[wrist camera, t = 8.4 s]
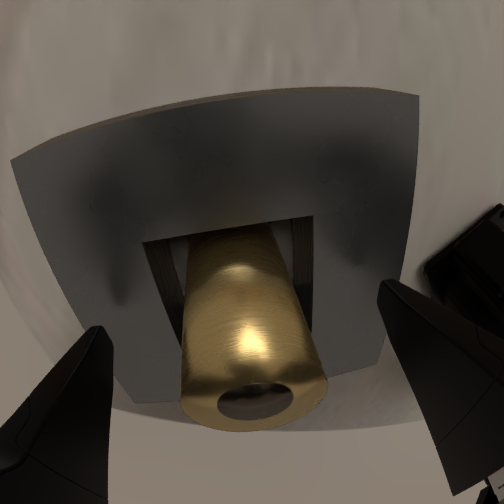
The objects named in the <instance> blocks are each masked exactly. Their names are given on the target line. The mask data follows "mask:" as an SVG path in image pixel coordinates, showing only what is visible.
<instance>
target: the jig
mask: <svg viewBox="0 0 504 504" xmlns="http://www.w3.org/2000/svg"><path fill="white" fill-rule="evenodd" d="M418 136H419V95H414V94H409V93H404V92H398V91H392V90H385V89H379V88H370V87H304V88H285V89H271V90H260V91H250V92H241V93H233V94H226V95H218V96H212V97H205V98H199V99H194V100H188V101H183V102H178V103H173V104H168V105H163V106H159V107H154V108H150V109H146V110H142V111H138V112H134V113H130V114H126V115H122V116H119V117H115V118H112V119H108V120H105V121H101V122H98V123H95V124H92V125H89V126H86V127H83V128H80V129H77V130H74V131H71V132H68V133H65V134H62V135H60V136H57V137H54V138H52V139H50V140H48V141H46V142H44V143H42V144H40V145H38V146H36V147H34V148H32V149H30V150H28V151H26V152H25V153H23V154H21V155H19V156H17V157H16V158H14V159H12V160H10V161H11V165H12V168H13V172H14V175H15V178H16V181H17V185H18V188H19V191H20V194H21V196H22V199H23V202H24V205H25V208H26V210H27V213H28V216H29V218H30V221H31V223H32V226H33V228H34V231H35V233H36V236H37V238H38V240H39V243H40V245H41V247H42V250H43V252H44V254H45V256H46V258H47V261H48V263H49V265H50V267H51V269H52V271H53V273H54V275H55V277H56V279H57V281H58V283H59V285H60V287H61V289H62V291H63V293H64V295H65V297H66V298H67V300H68V302H69V304H70V306H71V308H72V309H73V311H74V313H75V315H76V316H77V318H78V320H79V322H80V323H81V325H82V327H83V328H84V330H85V332H86V331H87V330H88V329H89V328H90V327H91V326H98V325H101V326H103V327H104V328H105V330H106V332H107V333H108V335H109V337H110V339H111V340H112V342H113V346H114V364H113V374H114V375H115V377H116V378H117V380H118V381H119V382H120V384H121V385H122V387H123V388H124V389H125V391H126V392H127V393H128V394H129V396H130V397H131V398H132V400H133V401H134V402H135V403H152V402H170V401H180V382H181V353H182V331H183V314H184V296H183V293H182V290H181V287H180V284H179V280H178V277H177V274H176V270H175V267H174V264H173V260H172V257H171V253H170V250H169V246H168V243H167V239H166V238H171V237H177V236H183V235H189V234H195V233H201V232H207V231H213V230H219V229H225V228H231V227H238V226H244V225H251V224H257V223H264V222H270V221H277V220H284V219H291V222H292V243H293V268H294V286H293V287H294V290H295V292H296V295H297V298H298V300H299V303H300V306H301V308H302V311H303V314H304V316H305V319H306V322H307V325H308V327H309V330H310V333H311V336H312V338H313V341H314V344H315V347H316V349H317V352H318V355H319V358H320V360H321V363H322V366H323V369H324V372H325V375H326V377H331V376H335V375H339V374H343V373H347V372H350V371H354V370H358V369H361V368H365V367H368V366H372V365H375V364H377V361H378V358H379V355H380V352H381V349H382V345H383V342H384V339H385V335H386V332H387V331H386V328H385V325H384V323H383V320H382V317H381V314H380V312H379V309H378V306H377V296H378V290H379V285H380V282H381V281H382V280H386V279H390V278H392V279H395V280H397V281H399V280H400V275H401V270H402V266H403V261H404V255H405V250H406V244H407V239H408V233H409V226H410V220H411V213H412V205H413V197H414V188H415V179H416V167H417V154H418Z"/></svg>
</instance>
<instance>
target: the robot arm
mask: <svg viewBox="0 0 504 504" xmlns="http://www.w3.org/2000/svg"><path fill="white" fill-rule="evenodd" d="M424 275H425V278H426V281H427V284H428V287H429V290H430V294H431V297H432V299H430V298H428V297H426V296H424V295H423V294H421V293H419V292H417V291H415V290H413V289H412V288H410V287H408V286H406V285H404V284H402V283H400V282H399V281H397V280H395V279H392V278H390V279H386V280H382V281H381V282H380V285H379V290H378V296H377V306H378V309H379V312H380V314H381V317H382V320H383V323H384V325H385V328H386V331H387V334H388V337H389V339H390V342H391V344H392V347H393V349H394V351H395V353H396V355H397V357H398V359H399V362H400V364H401V366H402V368H403V370H404V372H405V375H406V377H407V379H408V381H409V383H410V386H411V388H412V390H413V392H414V395H415V397H416V399H417V402H418V404H419V406H420V409H421V411H422V414H423V416H424V418H425V421H426V423H427V426H428V428H429V431H430V433H431V436H432V439H433V441H434V444H435V446H436V449H437V452H438V455H439V457H440V460H441V463H442V466H443V468H444V471H445V474H446V477H447V480H448V483H449V486H450V489H451V492H452V494H453V496H455V495H457V494H459V493H461V492H463V491H465V490H467V489H468V488H470V487H472V486H474V485H475V484H477V483H479V482H481V481H482V480H484V481H485V483H486V484H487V487H485V488H484V489H482V490H481V491H480V494H479V497H478V499H477V502H476V504H504V205H502V204H501V203H499V204H497V205H496V206H495V207H494V208H493V209H492V210H491V211H489V212H488V213H487V214H486V215H485V216H484V217H483V218H482V219H480V220H479V221H478V222H477V223H476V224H475V225H473V226H472V227H471V228H470V229H469V230H467V231H466V232H465V233H464V234H463V235H461V236H460V237H459V238H458V239H457V240H455V241H454V242H453V243H452V244H450V245H449V246H448V247H447V248H445V249H444V250H443V251H442V252H440V253H439V254H438V255H436V256H435V257H434V258H433V259H431V260H430V261H429V262H428V263H427V264H426V265H425V267H424ZM113 364H114V346H113V342H112V340H111V339H110V337H109V335H108V333H107V332H106V330H105V328H104V327H103V326H101V325H98V326H91V327H90V328H89V329H88V330H87V331H86V332H85V333H84V334H83V335H82V336H81V337H80V338H79V339H78V341H77V342H76V343H75V344H74V345H73V346H72V347H71V348H70V349H69V350H68V351H67V353H66V354H65V355H64V356H63V357H62V358H61V359H60V360H59V361H58V363H57V364H56V365H55V366H54V367H53V368H52V369H51V370H50V372H49V373H48V374H47V375H46V376H45V377H44V379H43V380H42V381H41V382H40V383H39V384H38V386H37V387H36V388H35V389H34V390H33V391H32V393H31V394H30V397H29V396H28V397H27V398H26V400H25V401H24V402H23V403H22V404H21V406H20V407H19V408H18V409H17V410H16V411H15V413H14V414H13V415H12V416H11V417H10V418H9V419H8V420H7V421H6V422H5V423H4V425H2V427H1V428H0V504H108V500H107V499H108V452H109V450H108V449H109V433H110V432H109V431H110V418H111V407H112V396H113Z"/></svg>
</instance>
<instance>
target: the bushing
mask: <svg viewBox="0 0 504 504" xmlns="http://www.w3.org/2000/svg"><path fill="white" fill-rule="evenodd" d="M327 388H328V381H327V377H326V375H325V372H324V369H323V366H322V363H321V360H320V358H319V355H318V352H317V349H316V347H315V344H314V341H313V338H312V336H311V333H310V330H309V327H308V325H307V322H306V319H305V316H304V314H303V311H302V308H301V306H300V303H299V300H298V298H297V295H296V292H295V290H294V287H293V284H292V282H291V279H290V276H289V274H288V271H287V268H286V266H285V263H284V261H283V258H282V255H281V253H280V250H279V248H278V245H277V242H276V240H275V237H274V235H273V232H272V230H271V228H270V226H269V225H268V224H267V222H264V223H257V224H251V225H244V226H238V227H231V228H225V229H219V230H213V231H207V232H201V233H195V234H191V237H190V241H189V250H188V261H187V273H186V285H185V299H184V314H183V331H182V353H181V382H180V404H181V407H182V409H183V411H184V412H185V414H186V415H187V416H188V417H189V418H190V419H192V420H193V421H195V422H197V423H199V424H201V425H203V426H206V427H209V428H213V429H218V430H222V431H231V432H249V431H259V430H265V429H270V428H274V427H278V426H281V425H284V424H287V423H289V422H292V421H294V420H296V419H298V418H300V417H302V416H304V415H305V414H307V413H308V412H310V411H311V410H312V409H314V408H315V407H316V406H317V405H318V404H319V403H320V402H321V401H322V399H323V398H324V396H325V394H326V392H327Z"/></svg>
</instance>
